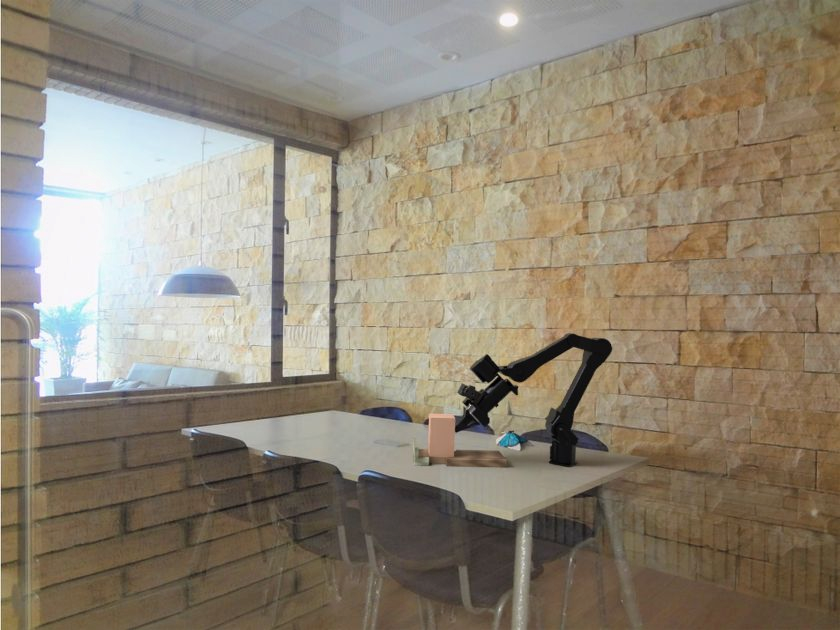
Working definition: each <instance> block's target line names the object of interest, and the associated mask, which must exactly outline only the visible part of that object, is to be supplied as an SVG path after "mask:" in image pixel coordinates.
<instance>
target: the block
mask: <svg viewBox="0 0 840 630" xmlns="http://www.w3.org/2000/svg"><path fill="white" fill-rule="evenodd" d="M455 426H456V417H455V416H454V414H453V413H429V414H428V436H427V437H428V440H427V449H428V453H429V456H437V457H454V451H455V437H456V436H455V435H456V433H455Z"/></svg>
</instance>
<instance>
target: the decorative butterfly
mask: <svg viewBox="0 0 840 630" xmlns="http://www.w3.org/2000/svg"><path fill="white" fill-rule="evenodd" d="M519 431H520V429H519V430H517V432H519ZM500 434H503V435H500V436H498V437H497V438H496V440H495V444H496V445H497V446H499V447H503V448H507V449H511V450H514V451H521V445H523V446H529V447H534V444H533V443H532V442H531V441H530V440H528V439H527V438H526V437H524V436H521V435H519V434H518V433H516V432H515V430H507V431H502V432H500Z"/></svg>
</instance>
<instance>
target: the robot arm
mask: <svg viewBox="0 0 840 630" xmlns="http://www.w3.org/2000/svg"><path fill="white" fill-rule="evenodd" d="M573 348H576V349H579V350H582V351H583V352H582V358H581V359H582V360H581V364H580V366H579V367H578V370H577V372H576V374H575V376H574V378H573V380H572V382H571V384H570V385H569V387H568V389H567V391H566V394H565V395H564V397H563V399H562V400H561V403H560V405H558V406H557V408H554V407H550V409H549V412H548V414H547V416H546V417H545V418H544V420H546V421H545V423H544V424H545V425H544V426H545V429H546V431H547V432H548V434H550V436H551V439H552V441H551V445H550V446H549V460H548V463H549V464H554V465H559V466H564V467H572V466H574V465H575V464H578V463H579V462H578V461H577V460H576V454H577V453H576V450H577V444H578V441H579V438H578V437H577V435H576V434H575V433H574V432H573V431H572V427H573V424H574V420H575V418H574V417H575V412H576V410H577V408H578V406H579V404H580V402H581V400H582V398H583V396H584V394H585V393H586V390H587V388H588V387H589V384H590V383H591V381H592V379H593V376H594V375H595V374H596V371H597V369H599V368H600V367H601V366H602V365H603V364H604V363H605V362H606V361H607V359H608V357H610V355H611V354H612V351H613V346H612V343H611V342H610V341H609V340H608V339H607V338H603V337H591V338H590V337H586V336H582V335H578V334H576V333H571V332H569V333H565V334H564V335H563V336H562V337H561V338H559V339H557V340H555V341H554V342H552V343H550V344H549V345H546V346H545V347H543V348H542V349H540V350H538V351H537V352H535V353H533V354H531V355H528V356H525V357H522V358H519V359H516V360H514V361H511V362H509V363H508V364H507V365H498V364H496V363H495V361H494V360H493V358H492V357H491V356H490V355H489V354H488V353H485V355H483V356H481V357H480V358H479V359H478V360H475V362H473V363H472V365H471V366H470V367H469V370H470V371H471V372H472V374H474V375H475V376H476V378H478V380H479V381H480V382H481V383H482V384H484V383H487V384H488V385H487V386H486V387H485V388H481V389H480V390H477V389H476V386H475V385H472V384H469V385H467V384H465V383H461V384H460V386H459V388H458V390H457V392H456V393H457V394H458V395H459V396H461V397H464V399H463V400H462V401H461V403H462V404H463V406H462V409H463V410H462V415H461V417H460V419H459V420H458V422H457V423H456V424H455V434H457V433H459V432H462V431H465V430H467V429H470V428H473V427H477V426H480V425H481V426H483V427H484V428H486V427H487V426H488V425H489V424H490V422H491V419H490V417H489V413H490V412H491V411H492V410H494V408H498V407H499V406H500V404H499V403H501V402H502V401H503V400H504V399H505V398H506V397H507V396H508V395H509V394H510V393H512V394H513V395H515V396H519V385H517V384H516V385H514V384H513V383H512V381H513V382H515V383H523V382H526V380H528V379H530V377H531V376H533V375H534V374H535V373H536V371H538V369H540V367H542V366H544V365H546V364H547V363H549V362H550V361H552V360H554V359H556V358H557V357H560V356H561V355H562V354H565V353H567V352H568V351H569V350H571V349H573ZM501 375H502V376H505V377H508V378H505V379H504V378H503V377H502V376H501ZM510 380H511V381H510Z"/></svg>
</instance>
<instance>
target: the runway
mask: <svg viewBox="0 0 840 630" xmlns="http://www.w3.org/2000/svg"><path fill="white" fill-rule="evenodd" d="M412 457H413V458H414V459H413V464H414V466H421V465H430V464H429V463H433V464H432V465H445V466H446V467H466V468H467V467H470V468H471V467H472V468H473V467H476V468H477V467H479V468H507V465H508V460H507V459H506V457H505V456H504V455H503V454H502V452H501V451H500V450H490V449H488V450H487V449H486V450H483V449H482V450H481V449H456V450H454V457H437V456H429V453H428V448H419V443H418V438H413V441H412Z"/></svg>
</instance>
